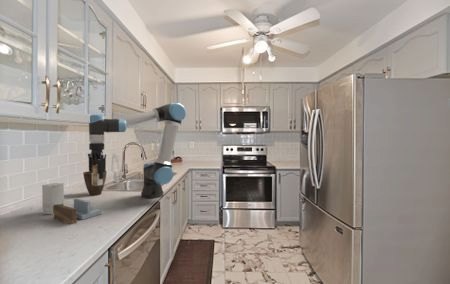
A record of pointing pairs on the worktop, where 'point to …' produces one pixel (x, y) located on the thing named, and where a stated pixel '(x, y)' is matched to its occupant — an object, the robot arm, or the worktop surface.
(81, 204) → the fork block
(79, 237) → the worktop surface
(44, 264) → the worktop surface
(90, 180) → the plant pot
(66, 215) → the board
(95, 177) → the dowel
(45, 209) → the skincare box
